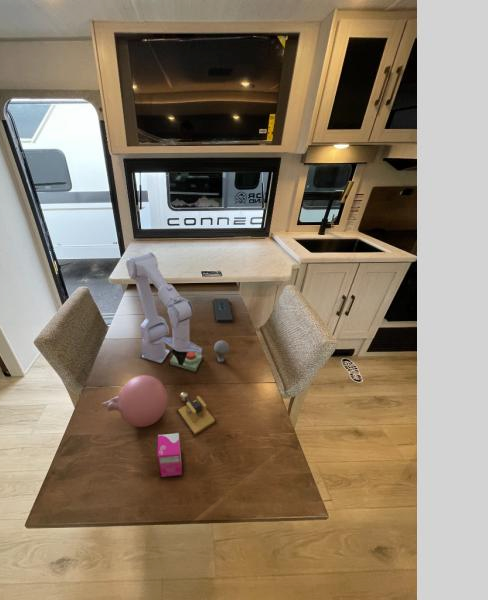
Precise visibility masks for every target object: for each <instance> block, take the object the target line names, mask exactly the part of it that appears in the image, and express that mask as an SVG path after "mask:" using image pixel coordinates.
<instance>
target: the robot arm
mask: <svg viewBox="0 0 488 600" xmlns="http://www.w3.org/2000/svg"><path fill="white" fill-rule="evenodd" d="M125 267H126V269H127V273H128V276H129V278H130V280H133V281H134V283H135V285H136V289H137V293H138V297H139V299H140V303H141V307H142V310H143V314H144V317H145V319H144V320H143V322H142V323H141V324H140V329H141V330H140V331H141V337H142V340H141V345H140V346H141V353H142V355H141V358H143V359H146V360H150V361H152V362H155V363H159V364H162V363H163V362H164V360H165V359H166V358H167V356H168V355H169V353H170V351H171V354H172V355H174V356H175V357H176V359H177V361H178V363H179V365H183V364H184V362H185V358H186V355H187V353H188V352H194V353H197V355H199V356H200V355H202V353H203V347H200V346H198V345H197V344H195V343H194V342H192V341H190V336H191V335H190V332H191V331H190V329H191V328H190V325H191V324H190V323H191V322H190V319H191V317H192V316H193V315H194V307H193V305H192V303H191V302H190V300H189V299H187V298H185V297H182V296H181V295H180V293H179V292H178V291H177V289H176V288H175V287H174V286H173V284H171V283H168V282H167V281H166V279H165V278H164V276H163V274H162V273H161V271H160V269H159V262H158V258H157V256H156V255H155V254H154V253H153V252H151V251H150V252H147V253H143V254H140V255H136V256H132V257H128V258H127V260H126V265H125ZM150 282H151V283H152V285H153V286H154V287H155V288H156V289H157V290H158V291H157V296H158V297H159V299H160V300H161V301H162V303H163V305H165V307H166V309H167V310H166V311H167V315H168V317H169V318H168V319H169V322H170V325H171V333H172V334H171V335H172V337H167V336H169V334H170V328H169V326H168V323H167V322H166V319H165V318H164V317H162V316H159V314H158V311H157V307H156V303H155V299H154V296H153V292H152V289H151V285H150ZM166 345H167V346H169V347H170V348H171V349H172V350H170V349H167V347H166Z"/></svg>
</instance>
